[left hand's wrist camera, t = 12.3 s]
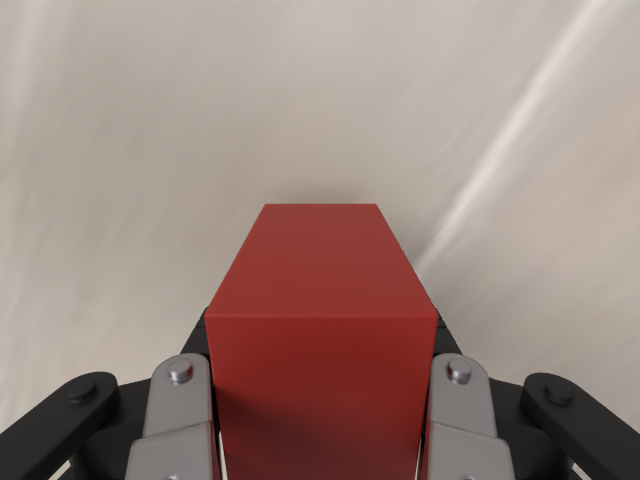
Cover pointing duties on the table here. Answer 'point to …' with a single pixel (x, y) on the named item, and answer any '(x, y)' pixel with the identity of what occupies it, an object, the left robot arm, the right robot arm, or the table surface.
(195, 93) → the table surface
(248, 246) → the brick
